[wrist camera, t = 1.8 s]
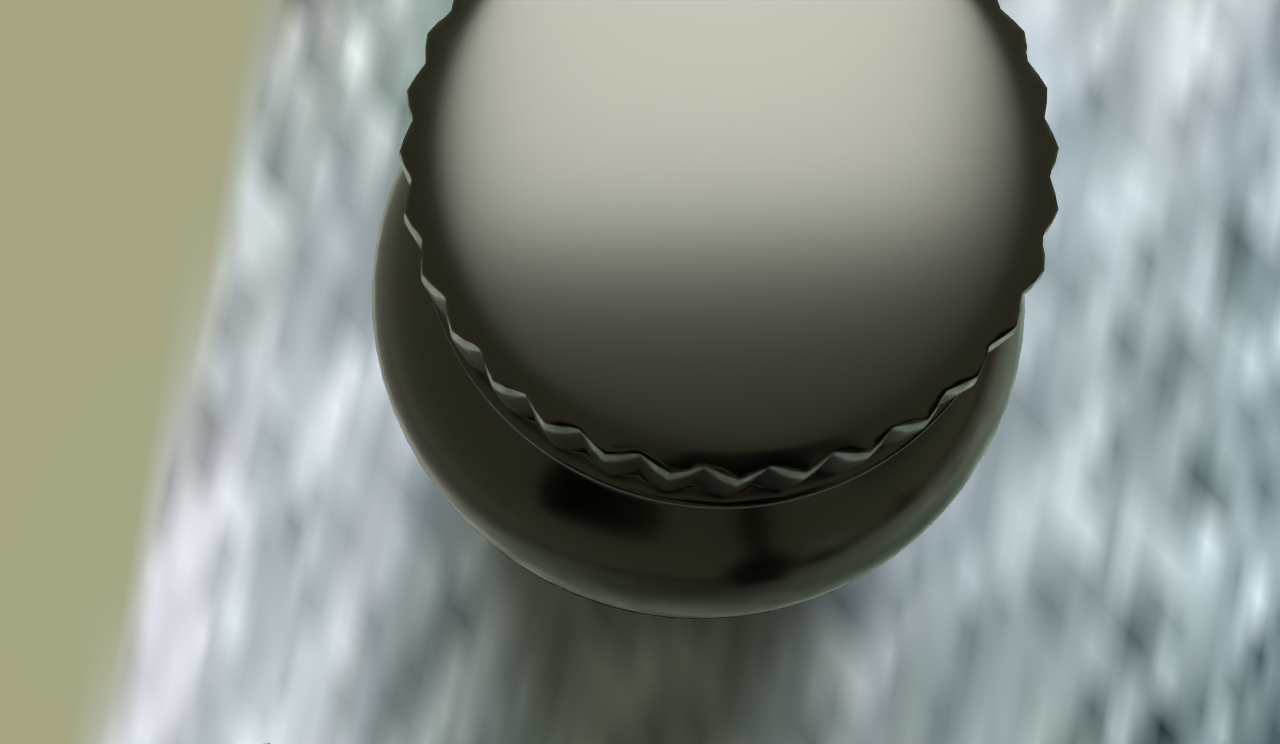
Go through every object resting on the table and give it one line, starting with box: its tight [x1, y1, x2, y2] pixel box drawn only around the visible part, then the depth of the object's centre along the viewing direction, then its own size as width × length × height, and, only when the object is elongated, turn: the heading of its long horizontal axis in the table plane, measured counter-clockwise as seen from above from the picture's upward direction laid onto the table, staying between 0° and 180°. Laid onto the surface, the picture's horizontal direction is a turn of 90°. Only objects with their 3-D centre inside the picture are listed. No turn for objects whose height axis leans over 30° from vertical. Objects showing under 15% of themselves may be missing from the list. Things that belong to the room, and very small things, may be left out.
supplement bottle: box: [372, 0, 1059, 619], centre depth 14 cm, size 7×7×12 cm
